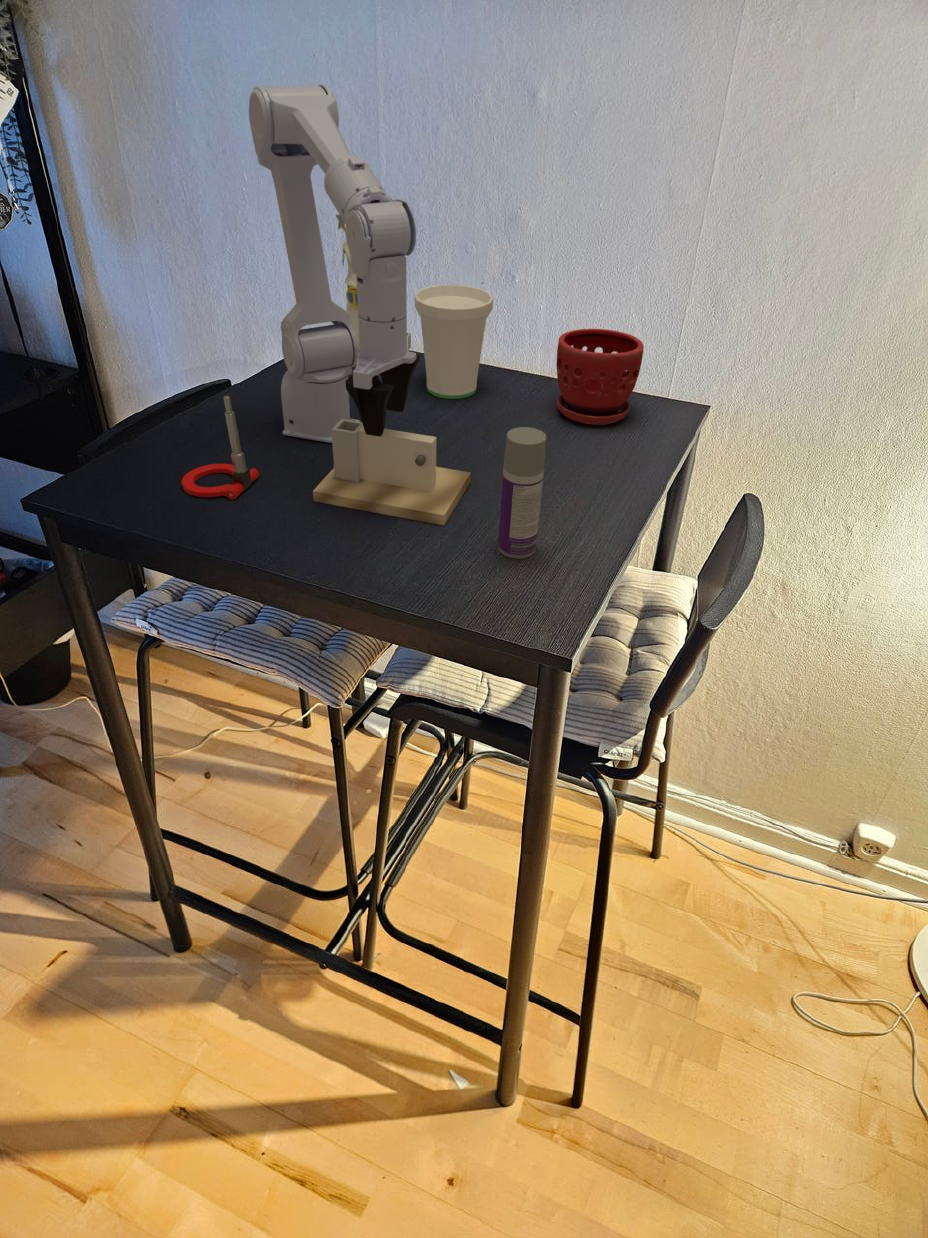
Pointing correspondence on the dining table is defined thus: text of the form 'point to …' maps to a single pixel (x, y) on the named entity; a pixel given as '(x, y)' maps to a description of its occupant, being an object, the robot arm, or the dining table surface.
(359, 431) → the door
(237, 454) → the tow hook
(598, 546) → the dining table surface
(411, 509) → the base board
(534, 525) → the container
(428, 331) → the cup
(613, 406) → the plant pot
